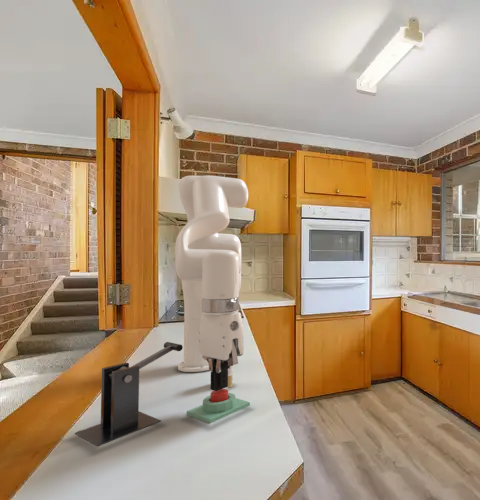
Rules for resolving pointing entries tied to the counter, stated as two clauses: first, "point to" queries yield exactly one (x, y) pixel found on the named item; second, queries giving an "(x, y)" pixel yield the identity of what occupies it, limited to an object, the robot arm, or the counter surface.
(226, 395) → the button
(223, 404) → the control block
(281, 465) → the counter surface
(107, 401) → the lever bracket
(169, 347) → the lever handle
